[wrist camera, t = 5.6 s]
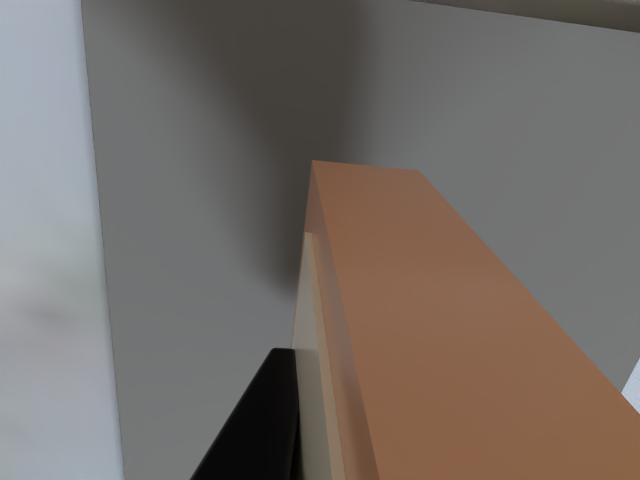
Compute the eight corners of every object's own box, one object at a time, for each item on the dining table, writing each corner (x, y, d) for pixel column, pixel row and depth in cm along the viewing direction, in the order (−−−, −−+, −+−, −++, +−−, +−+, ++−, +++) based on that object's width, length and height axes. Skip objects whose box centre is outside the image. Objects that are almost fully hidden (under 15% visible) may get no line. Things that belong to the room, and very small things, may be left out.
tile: (279, 407, 11) (275, 951, 4) (306, 159, 8) (383, 613, 2) (366, 410, 11) (478, 931, 5) (418, 170, 8) (809, 604, 2)
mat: (134, 501, 16) (128, 518, 15) (88, -43, 9) (75, -47, 8) (544, 505, 17) (553, 520, 17) (772, 53, 11) (799, 55, 10)
